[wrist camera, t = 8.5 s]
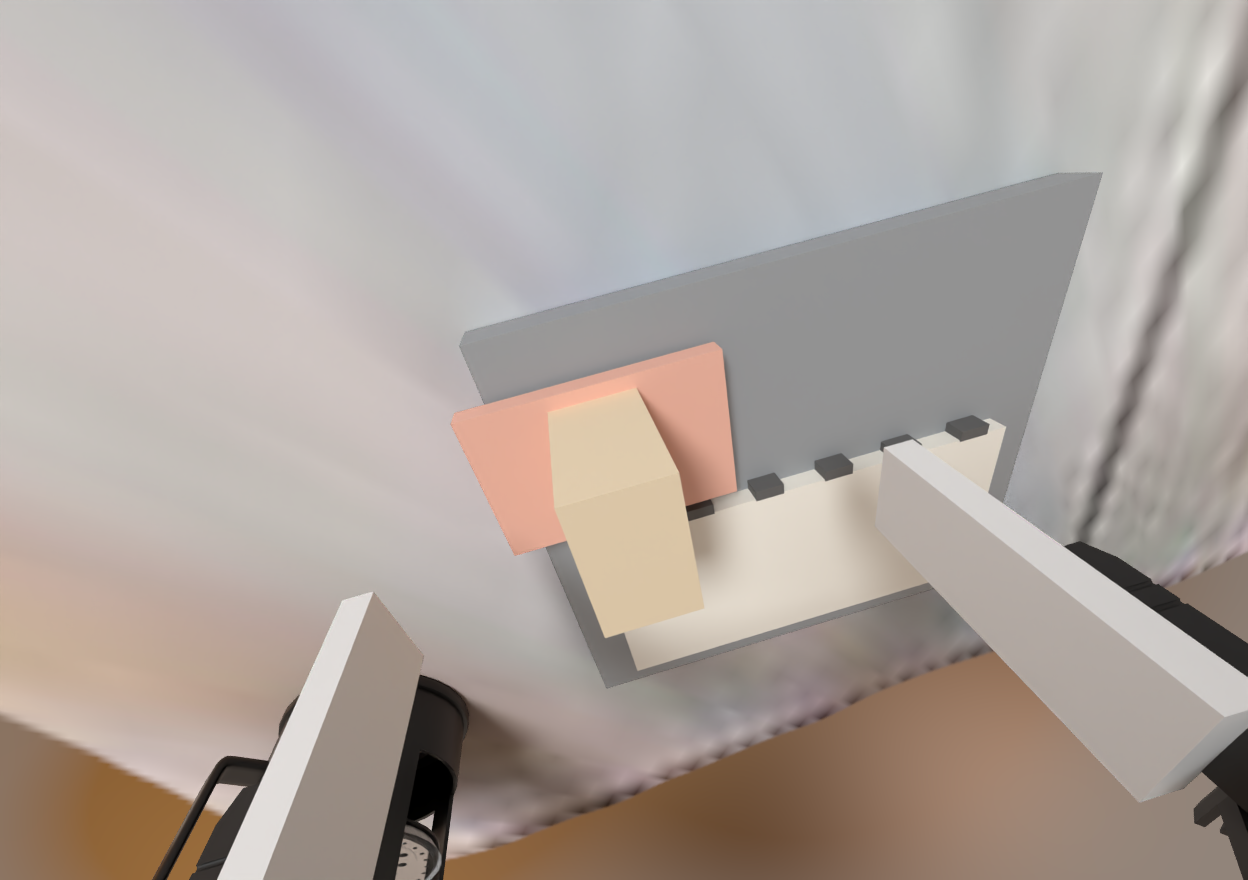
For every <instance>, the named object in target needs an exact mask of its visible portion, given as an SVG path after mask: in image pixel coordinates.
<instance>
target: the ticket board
mask: <svg viewBox="0 0 1248 880" xmlns="http://www.w3.org/2000/svg"><path fill="white" fill-rule="evenodd" d="M1102 174H1103V173H1056V174H1053V175H1049V176H1045V177H1041V178H1038V179H1034V180H1030V181H1026V182H1023V183H1019V184H1015V185H1012V186H1008V187H1004V188H1000V189H997V190H993V191H989V192H985V193H982V194H978V195H974V196H971V197H967V198H963V199H959V200H956V201H952V202H948V203H945V204H941V205H937V206H933V207H930V208H926V209H922V210H918V211H915V212H911V213H907V214H904V215H900V216H896V217H892V218H889V219H885V220H881V221H877V222H874V223H870V224H866V225H863V226H859V227H855V228H851V229H848V230H844V231H840V232H836V233H833V234H829V235H825V236H822V237H818V238H814V239H810V240H807V241H803V242H799V243H796V244H792V245H788V246H784V247H781V248H777V249H773V250H769V251H766V252H762V253H758V254H755V255H751V256H747V257H743V258H740V259H736V260H732V261H728V262H725V263H721V264H717V265H714V266H710V267H706V268H702V269H699V270H695V271H691V272H687V273H684V274H680V275H676V276H673V277H669V278H665V279H661V280H658V281H654V282H650V283H647V284H643V285H639V286H635V287H632V288H628V289H624V290H620V291H617V292H613V293H609V294H606V295H602V296H598V297H594V298H591V299H587V300H583V301H579V302H576V303H572V304H568V305H565V306H561V307H557V308H553V309H550V310H546V311H542V312H538V313H535V314H531V315H527V316H524V317H520V318H516V319H512V320H509V321H505V322H501V323H498V324H494V325H490V326H486V327H483V328H479V329H475V330H471V331H468V332H465V334H464V336H463V338H462V341H461V343H460V345H459V347H460V349H461V351H462V354H463V356H464V358H465V361H466V363H467V365H468V368H469V370H470V372H471V375H472V377H473V379H474V382H475V384H476V386H477V389H478V391H479V393H480V396H481V398H482V400H483V403H484V405H485V404H489V403H493V402H496V401H500V400H504V399H507V398H511V397H514V396H518V395H522V394H525V393H529V392H533V391H536V390H540V389H543V388H547V387H551V386H554V385H558V384H562V383H565V382H569V381H572V380H576V379H580V378H583V377H587V376H591V375H594V374H598V373H602V372H605V371H609V370H612V369H616V368H620V367H623V366H627V365H631V364H634V363H638V362H641V361H645V360H649V359H652V358H656V357H660V356H663V355H667V354H670V353H674V352H678V351H681V350H685V349H689V348H692V347H696V346H699V345H703V344H707V343H710V342H715V343H716V344H717V345H718V346H719V347H721V348H722V350H723V360H724V370H725V379H726V389H727V398H728V408H729V417H730V427H731V437H732V446H733V456H734V465H735V475H736V485H737V491H736V492H733V493H729V494H726V495H723V496H719V497H716V498H712V499H709V500H705V501H702V502H698V503H695V504H692V505H688V506H685V507H686V512H687V517H688V523H689V528H690V533H691V539H692V544H693V549H694V555H695V560H696V565H697V571H698V576H699V581H700V587H701V592H702V598H703V603H704V609H701V610H697V611H694V612H691V613H687V614H684V615H681V616H678V617H674V618H671V619H668V620H664V621H661V622H658V623H654V624H651V625H648V626H644V627H641V628H638V629H634V630H631V631H628V632H624V633H621V634H618V635H614V636H611V637H608V638H605V637H604V634H603V632H602V629H601V627H600V624H599V622H598V619H597V617H596V614H595V611H594V609H593V606H592V604H591V601H590V599H589V596H588V594H587V591H586V588H585V586H584V583H583V581H582V578H581V576H580V573H579V571H578V568H577V565H576V563H575V560H574V558H573V555H572V553H571V550H570V548H569V545H568V542H567V541H564V542H561V543H557V544H554V545H550V546H547V547H546V549H547V551H548V554H549V556H550V558H551V561H552V563H553V565H554V568H555V570H556V572H557V575H558V577H559V579H560V581H561V584H562V586H563V588H564V591H565V593H566V595H567V598H568V600H569V602H570V605H571V607H572V609H573V612H574V614H575V616H576V619H577V621H578V623H579V626H580V628H581V630H582V633H583V635H584V637H585V640H586V642H587V644H588V647H589V649H590V651H591V654H592V656H593V658H594V660H595V663H596V665H597V667H598V670H599V672H600V674H601V677H602V679H603V681H604V684H605V686H606V688H610V687H613V686H617V685H620V684H623V683H626V682H630V681H633V680H636V679H640V678H643V677H646V676H649V675H653V674H656V673H659V672H663V671H666V670H669V669H672V668H676V667H679V666H682V665H685V664H689V663H692V662H695V661H699V660H702V659H705V658H708V657H712V656H715V655H718V654H721V653H725V652H728V651H731V650H735V649H738V648H741V647H744V646H748V645H751V644H754V643H758V642H761V641H764V640H767V639H771V638H774V637H777V636H780V635H784V634H787V633H790V632H794V631H797V630H800V629H803V628H807V627H810V626H813V625H816V624H820V623H823V622H826V621H830V620H833V619H836V618H839V617H843V616H846V615H849V614H853V613H856V612H859V611H862V610H866V609H869V608H872V607H875V606H879V605H882V604H885V603H889V602H892V601H895V600H898V599H902V598H905V597H908V596H911V595H915V594H918V593H921V592H925V591H928V590H931V589H934V588H933V587H932V586H931V585H930V583H929V582H928V581H927V580H926V579H925V578H924V577H923V576H922V575H921V574H920V573H919V572H918V571H917V570H916V569H915V568H914V567H913V566H912V565H911V564H910V563H909V562H908V560H907V559H906V558H905V557H904V556H903V555H902V554H901V553H900V552H899V551H898V550H897V549H896V548H895V547H894V546H893V545H892V544H891V543H890V542H889V541H888V540H887V539H886V538H885V536H884V535H883V534H882V533H881V532H880V531H879V530H878V529H877V528H876V527H875V519H876V511H877V502H878V494H879V485H880V477H881V468H882V460H883V452H884V447H887V446H891V445H894V444H898V443H902V442H905V441H909V440H912V439H913V440H914V441H916V442H917V443H918V444H920V445H921V446H923V447H924V448H925V449H927V450H928V451H930V452H931V453H933V454H934V455H935V456H937V457H938V458H940V459H941V460H942V461H944V462H945V463H947V464H948V465H949V466H951V467H952V468H954V469H955V470H956V471H958V472H959V473H961V474H962V475H963V476H965V477H966V478H968V479H969V480H971V481H972V482H973V483H975V484H976V485H978V486H979V487H980V488H982V489H983V490H985V491H986V492H987V493H989V494H990V495H992V496H993V497H994V498H996V499H997V500H999V501H1000V502H1002V503H1003V501H1004V497H1005V494H1006V491H1007V488H1008V484H1009V481H1010V478H1011V474H1012V471H1013V468H1014V464H1015V461H1016V458H1017V455H1018V451H1019V448H1020V445H1021V441H1022V438H1023V435H1024V431H1025V428H1026V425H1027V422H1028V418H1029V415H1030V412H1031V408H1032V405H1033V402H1034V398H1035V395H1036V392H1037V388H1038V385H1039V382H1040V379H1041V375H1042V372H1043V369H1044V365H1045V362H1046V359H1047V355H1048V352H1049V349H1050V346H1051V342H1052V339H1053V336H1054V332H1055V329H1056V326H1057V322H1058V319H1059V316H1060V313H1061V309H1062V306H1063V303H1064V299H1065V296H1066V293H1067V289H1068V286H1069V283H1070V279H1071V276H1072V273H1073V270H1074V266H1075V263H1076V260H1077V256H1078V253H1079V250H1080V246H1081V243H1082V240H1083V237H1084V233H1085V230H1086V227H1087V223H1088V220H1089V217H1090V213H1091V210H1092V207H1093V204H1094V200H1095V197H1096V194H1097V190H1098V187H1099V184H1100V180H1101V177H1102Z"/></svg>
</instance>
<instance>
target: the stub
mask: <svg viewBox="0 0 1248 880" xmlns="http://www.w3.org/2000/svg"><path fill="white" fill-rule="evenodd" d="M451 426H452V428H453V430H454V432H455V434H456V436H457V438H458V440H459V443H460V445H461V447H462V449H463V451H464V453H465V455H466V457H467V459H468V461H469V463H470V465H471V467H472V469H473V471H474V473H475V475H476V477H477V479H478V481H479V483H480V486H481V488H482V490H483V492H484V494H485V496H486V498H487V500H488V502H489V504H490V506H491V508H492V510H493V512H494V514H495V516H496V518H497V520H498V522H499V524H500V526H501V529H502V531H503V533H504V535H505V537H506V539H507V541H508V543H509V545H510V547H511V549H512V551H513V553H514V555H515V556H516V555H519V554H523V553H526V552H530V551H533V550H537V549H540V548H543V547H547V546H550V545H554V544H557V543H561V542H564V541H567V542H568V545H569V548H570V550H571V553H572V555H573V558H574V560H575V563H576V565H577V568H578V571H579V573H580V576H581V578H582V581H583V583H584V586H585V588H586V591H587V594H588V596H589V599H590V601H591V604H592V606H593V609H594V611H595V614H596V617H597V619H598V622H599V624H600V627H601V629H602V632H603V634H604V637H605V638H608V637H611V636H614V635H618V634H621V633H624V632H628V631H631V630H634V629H638V628H641V627H644V626H648V625H651V624H654V623H658V622H661V621H664V620H668V619H671V618H674V617H678V616H681V615H684V614H687V613H691V612H694V611H697V610H701V609H704V603H703V598H702V592H701V587H700V581H699V576H698V571H697V565H696V560H695V555H694V549H693V544H692V539H691V533H690V528H689V523H688V517H687V512H686V507H685V506H688V505H692V504H695V503H698V502H702V501H705V500H709V499H712V498H716V497H719V496H723V495H726V494H729V493H733V492H736V491H737V485H736V475H735V465H734V456H733V446H732V437H731V427H730V417H729V408H728V398H727V389H726V379H725V370H724V360H723V350H722V348H721V347H719V346H718V345H717V344H716V343H715V342H710V343H707V344H703V345H699V346H696V347H692V348H689V349H685V350H681V351H678V352H674V353H670V354H667V355H663V356H660V357H656V358H652V359H649V360H645V361H641V362H638V363H634V364H631V365H627V366H623V367H620V368H616V369H612V370H609V371H605V372H602V373H598V374H594V375H591V376H587V377H583V378H580V379H576V380H572V381H569V382H565V383H562V384H558V385H554V386H551V387H547V388H543V389H540V390H536V391H533V392H529V393H525V394H522V395H518V396H514V397H511V398H507V399H504V400H500V401H496V402H493V403H489V404H485V405H482V406H478V407H475V408H471V409H467V410H464V411H460V412H456V413H454V415H453V419H452V422H451Z"/></svg>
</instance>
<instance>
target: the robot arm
mask: <svg viewBox="0 0 1248 880" xmlns="http://www.w3.org/2000/svg"><path fill="white" fill-rule="evenodd" d="M875 527H876V528H877V529H878V530H879V531H880V532H881V533H882V534H883V535H884V536H885V538H886V539H887V540H888V541H889V542H890V543H891V544H892V545H893V546H894V547H895V548H896V549H897V550H898V551H899V552H900V553H901V554H902V555H903V556H904V557H905V558H906V559H907V560H908V562H909V563H910V564H911V565H912V566H913V567H914V568H915V569H916V570H917V571H918V572H919V573H920V574H921V575H922V576H923V577H924V578H925V579H926V580H927V581H928V582H929V583H930V585H931V586H932V587H933V588H934V589H935V590H936V591H937V592H938V593H939V594H940V595H941V596H942V597H943V598H944V599H945V600H946V601H947V602H948V603H949V604H950V605H951V606H952V608H953V609H954V610H955V611H956V612H957V613H958V614H959V615H960V616H961V617H962V618H963V619H964V620H965V621H966V622H967V623H968V624H969V625H970V626H971V627H972V628H973V629H974V631H975V632H976V633H977V634H978V635H979V636H980V637H981V638H982V639H983V640H984V641H985V642H986V643H987V644H988V645H989V646H990V647H991V648H992V649H993V650H994V651H995V652H996V653H997V654H998V655H999V656H1000V658H1001V659H1002V660H1003V661H1004V662H1005V663H1006V664H1007V665H1008V666H1009V667H1010V668H1011V669H1012V670H1013V671H1014V672H1015V673H1016V674H1017V675H1018V676H1019V678H1021V680H1022V681H1023V682H1024V683H1025V684H1026V685H1027V686H1028V687H1029V688H1030V689H1031V690H1032V691H1033V692H1034V693H1035V694H1036V695H1037V696H1038V697H1039V698H1040V699H1041V701H1042V702H1044V704H1045V705H1046V706H1047V707H1048V708H1049V709H1050V710H1051V711H1052V712H1053V713H1054V714H1055V715H1056V716H1057V717H1058V718H1059V719H1060V720H1061V721H1062V722H1063V724H1065V726H1067V728H1068V729H1069V730H1070V731H1071V732H1072V733H1073V734H1074V735H1075V736H1076V737H1077V738H1078V739H1079V740H1080V741H1081V742H1082V743H1083V744H1084V745H1085V747H1087V748H1088V750H1089V751H1090V752H1091V753H1092V754H1093V755H1094V756H1095V757H1096V758H1097V759H1098V760H1099V761H1100V762H1101V763H1102V764H1103V765H1104V766H1105V767H1106V768H1107V769H1108V771H1109V772H1110V773H1111V774H1112V775H1113V776H1114V777H1115V778H1116V779H1117V780H1118V781H1119V782H1120V783H1121V784H1122V785H1123V786H1124V787H1125V788H1126V789H1127V790H1128V791H1129V792H1130V794H1132V796H1133V797H1134V798H1135V799H1136V800H1137V801H1138V802H1143V801H1146V800H1149V799H1152V798H1155V797H1159V796H1161V795H1165V794H1168V793H1171V792H1174V791H1178V790H1181V789H1184V788H1185V787H1186V786H1187V785H1188V784H1189V783H1190V782H1191V781H1192V780H1193V779H1194V778H1196V777H1197V776H1198V775H1199V774H1200V773H1201V772H1203V773H1204V774H1205V775H1206V776H1207V777H1208V778H1209V779H1210V780H1211V781H1213V782H1214V783H1215V784H1216V785H1217V786H1218V787H1216V789H1214V790H1213V791H1212V792H1211V793H1209V794H1208V795H1207V796H1206V797H1205V798H1204V799H1202V800H1201V801H1200V803H1199V804H1198V805H1197V806H1196V807H1195V808H1194V823H1195V824H1198V825H1201V826H1203V827H1206V826H1207V825H1208V824H1209V823H1211V822H1212V821H1213V820H1215V819H1216V818H1217V817H1219V816H1220V815H1221V816H1222V819H1223V822H1224V823H1223V825H1222V827H1221V829H1220V833H1222V834H1224V835H1227V836H1228V837H1229V839H1230V842H1231V845H1232V848H1233V851H1234V854H1235V856H1236V859H1237V862H1238V865H1239V868H1240V871H1241V874H1242V877H1243V880H1248V643H1246V642H1245V641H1243V640H1242V639H1240V638H1239V637H1237V636H1236V635H1234V634H1233V633H1231V632H1230V631H1228V630H1226V629H1225V628H1224V627H1222V626H1220V625H1219V624H1217V623H1216V622H1215V621H1213V620H1211V619H1210V618H1208V617H1207V616H1206V615H1204V614H1202V613H1201V612H1199V611H1198V610H1196V609H1195V608H1193V607H1192V606H1190V605H1189V604H1184V603H1182V602H1181V601H1180V598H1178V597H1177V596H1175V595H1174V594H1172V593H1171V592H1169V591H1168V590H1166V589H1165V588H1163V587H1162V586H1160V585H1159V584H1157V585H1155V584H1153V583H1152V581H1151V579H1150V578H1148V577H1147V576H1145V575H1144V574H1142V573H1141V572H1139V571H1138V570H1136V569H1135V568H1133V567H1132V566H1130V565H1129V564H1127V563H1126V562H1124V561H1123V560H1121V559H1120V558H1118V557H1116V556H1113V555H1111V554H1109V553H1106V552H1104V551H1101V550H1099V549H1097V548H1094V547H1092V546H1089V545H1087V544H1085V543H1082V542H1076V543H1073V544H1069V545H1066V546H1062V545H1061V544H1059V543H1058V542H1056V541H1055V540H1054V539H1052V538H1051V537H1049V536H1048V535H1047V534H1045V533H1044V532H1042V531H1041V530H1040V529H1038V528H1037V527H1035V526H1034V525H1032V524H1031V523H1030V522H1028V521H1027V520H1025V519H1024V518H1023V517H1021V516H1020V515H1018V514H1017V513H1016V512H1014V511H1013V510H1011V509H1010V508H1009V507H1007V506H1006V505H1004V504H1003V503H1002V502H1000V501H999V500H997V499H996V498H994V497H993V496H992V495H990V494H989V493H987V492H986V491H985V490H983V489H982V488H980V487H979V486H978V485H976V484H975V483H973V482H972V481H971V480H969V479H968V478H966V477H965V476H963V475H962V474H961V473H959V472H958V471H956V470H955V469H954V468H952V467H951V466H949V465H948V464H947V463H945V462H944V461H942V460H941V459H940V458H938V457H937V456H935V455H934V454H933V453H931V452H930V451H928V450H927V449H925V448H924V447H923V446H921V445H920V444H918V443H917V442H916V441H914V440H913V439H912V440H909V441H905V442H902V443H898V444H894V445H891V446H887V447H884V452H883V460H882V468H881V477H880V485H879V494H878V502H877V511H876V519H875ZM423 658H424V655H423V654H422V653H421V652H420V650H419V649H418V648H417V647H416V645H415V644H414V643H413V641H412V640H411V639H410V638H409V636H408V635H407V634H406V632H405V631H404V630H403V629H402V627H401V626H400V625H399V624H398V622H397V621H396V620H395V618H394V617H393V616H392V615H391V613H390V612H389V611H388V610H387V608H386V607H385V606H384V604H383V603H382V602H381V601H380V599H379V598H378V597H377V595H376V594H375V593H374V592H370V593H367V594H363V595H359V596H356V597H352V598H349V599H345V600H342V602H341V605H340V607H339V609H338V611H337V614H336V616H335V618H334V620H333V622H332V625H331V627H330V629H329V631H328V634H327V636H326V638H325V640H324V643H323V645H322V647H321V649H320V651H319V654H318V656H317V658H316V660H315V663H314V665H313V667H312V669H311V672H310V674H309V676H308V678H307V680H306V683H305V685H304V687H303V689H302V692H301V694H300V696H299V698H298V700H297V703H296V705H295V707H294V709H293V712H292V714H291V716H290V718H289V721H288V723H287V725H286V727H285V729H284V732H283V734H282V736H281V738H280V741H279V743H278V745H277V747H276V750H275V752H274V754H273V756H272V758H271V761H270V763H269V765H268V767H267V770H266V772H265V774H264V776H263V779H262V781H261V783H259V784H256V785H252V786H249V787H246V788H243V789H242V791H241V792H240V793H239V795H238V796H237V797H236V799H235V800H234V801H233V803H232V804H231V805H230V807H229V808H228V810H227V811H226V812H225V814H224V815H223V816H222V818H221V819H220V820H219V822H218V823H217V825H216V826H215V828H214V830H213V832H212V835H211V836H210V838H209V840H208V843H207V844H206V846H205V849H204V851H203V853H202V855H201V857H200V859H199V861H198V863H197V865H196V866H197V871H196V872H195V873H193V874H192V875H191V877H190V879H189V880H373V876H374V872H375V867H376V863H377V859H378V854H379V850H380V845H381V841H382V837H383V832H384V828H385V824H386V819H387V815H388V811H389V806H390V802H391V797H392V793H393V789H394V784H395V780H396V776H397V771H398V767H399V762H400V758H401V754H402V749H403V745H404V741H405V736H406V732H407V728H408V723H409V719H410V714H411V710H412V706H413V701H414V697H415V693H416V688H417V684H418V680H419V675H420V671H421V666H422V662H423Z"/></svg>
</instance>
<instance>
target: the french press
mask: <svg viewBox="0 0 1248 880" xmlns="http://www.w3.org/2000/svg"><path fill="white" fill-rule="evenodd" d="M299 696H300V695H299ZM299 696H298V697H297V698H296V699H295V700H294V701H293V702H292V703H291V704H290V705H289V706H288V707H287V709H286V711H285V713H284V715H283V717H282V720H281V722H280V724H279V738H278V740H277V742H276V744H275V746H274V749H273V751H272V753H271V755H270V758H269V760H268V761H265V760H258V759H251V758H244V757H236V756H226V757H224V758H222V759H221V760H220V761H219V762H218V763H217V764H216V766H215V767H214V769H213V771H212V772H211V774H210V775H209V777H208V778H207V780H206V781H205V783H204V785H203V786H202V788H201V790H200V792H199V794H198V796H197V797H196V799H195V801H194V803H193V805H192V807H191V809H190V811H189V812H188V814H187V816H186V818H185V820H184V822H183V823H182V825H181V827H180V829H179V831H178V833H177V835H176V837H175V838H174V840H173V842H172V844H171V846H170V848H169V849H168V851H167V853H166V855H165V857H164V859H163V860H162V862H161V864H160V866H159V868H158V870H157V872H156V874H155V875H154V877H153V879H152V880H167V878H168V876H169V874H170V872H171V870H172V868H173V867H174V864H175V863H176V861H177V859H178V857H179V855H180V853H181V851H182V849H183V847H184V845H185V843H186V841H187V839H188V838H189V836H190V834H191V832H192V830H193V828H194V826H195V824H196V822H197V820H198V818H199V816H200V815H201V812H202V811H203V809H204V807H205V805H206V803H207V801H208V799H209V797H210V795H211V793H212V791H213V789H214V788H215V786H216V784H219V783H221V784H230V785H238V786H247V787H249V786H252V785H256V784H259V783H261V781H262V779H263V776H264V774H265V772H266V770H267V767H268V765H269V763H270V761H271V758H272V756H273V754H274V752H275V750H276V747H277V745H278V743H279V741H280V738H281V736H282V734H283V732H284V729H285V727H286V725H287V723H288V721H289V718H290V716H291V714H292V712H293V709H294V707H295V705H296V703H297V700H298V698H299ZM468 725H469V713H468V710H467V707H466V704H465V703H464V701H463V700H462V699H461V697H460V696H459V695H458V694H457V693H456V692H454V691H453V690H452V689H450V688H449V687H447V686H445V685H443V684H441V683H439V682H438V681H435V680H432V679H429V678H426V677H423V676H420V675H419V680H418V684H417V688H416V693H415V697H414V701H413V706H412V710H411V714H410V719H409V723H408V728H407V732H406V736H405V741H404V745H403V749H402V754H401V758H400V762H399V767H398V771H397V776H396V780H395V784H394V789H393V793H392V797H391V802H390V806H389V811H388V815H387V819H386V824H385V828H384V832H383V837H382V841H381V845H380V850H379V854H378V859H377V863H376V867H375V872H374V876H373V880H443V875H444V867H445V859H446V851H447V844H448V836H449V828H450V820H451V812H452V804H453V796H454V793H455V790H456V788H457V782H458V774H459V765H460V757H461V749H462V741H463V740H464V738H465V735H466V733H467V730H468ZM420 751H421V753H420ZM432 814H434V819H433V826H432V831H431V830H430V829H429V828H428V827H426V826H424V825H422V824H420V823H419V822H418V821H420V820H422V819H425V818H427V817H428V816H430V815H432Z"/></svg>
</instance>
